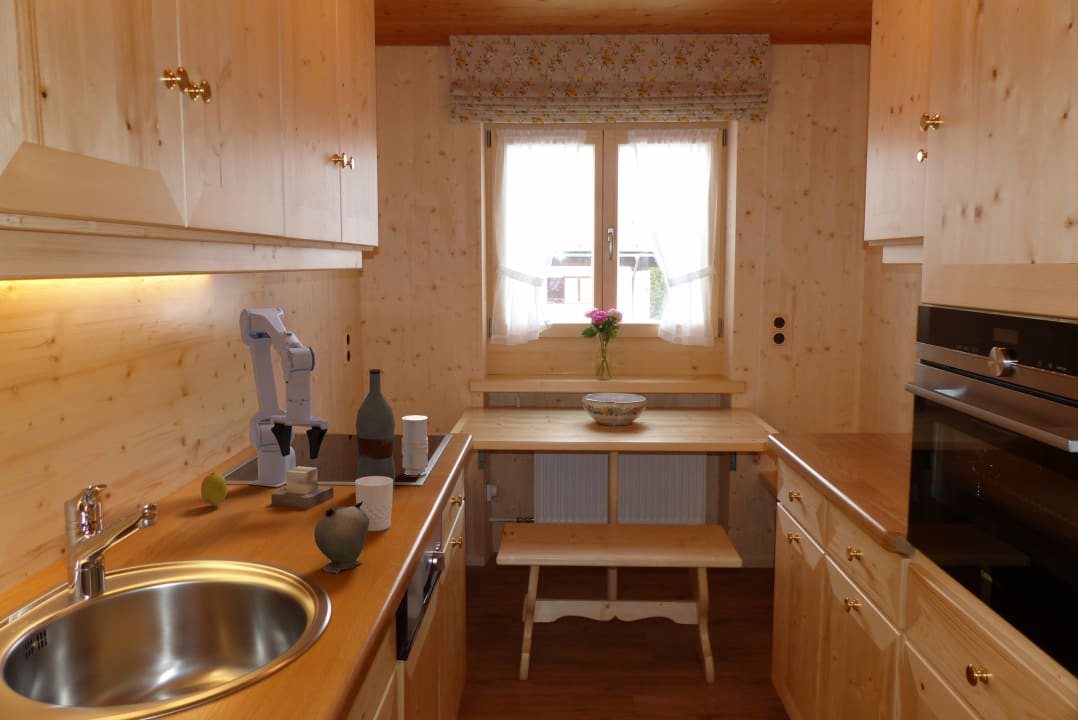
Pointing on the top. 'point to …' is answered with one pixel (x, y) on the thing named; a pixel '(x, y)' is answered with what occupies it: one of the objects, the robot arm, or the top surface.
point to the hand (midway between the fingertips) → (299, 457)
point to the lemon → (214, 489)
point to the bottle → (375, 433)
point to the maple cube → (302, 480)
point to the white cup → (375, 500)
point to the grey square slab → (302, 498)
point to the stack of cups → (414, 444)
